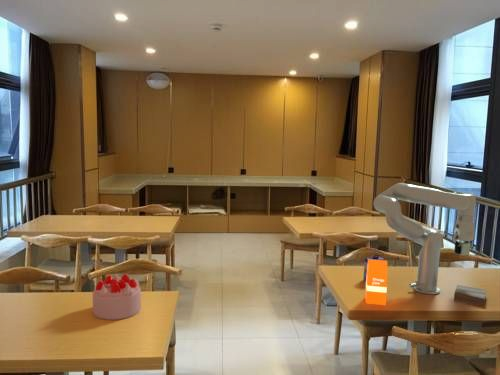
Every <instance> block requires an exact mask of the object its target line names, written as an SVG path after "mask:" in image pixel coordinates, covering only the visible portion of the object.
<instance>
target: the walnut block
mask: <svg viewBox="0 0 500 375" xmlns="http://www.w3.org/2000/svg"><path fill="white" fill-rule="evenodd" d="M486 297H487V289H482V288H478V287H471V286H465V285H458V284H457V285H456V288H455V291H454V296H453V301H455V302H461V303H467V304H472V305H477V306H482V307H485V305H486Z"/></svg>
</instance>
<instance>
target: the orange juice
mask: <svg viewBox="0 0 500 375" xmlns="http://www.w3.org/2000/svg"><path fill="white" fill-rule="evenodd" d="M387 288H388V260H385V261H383V260H370V259H368V265H367V276H366V280H365V304H370V305H379V306H380V305H381V306H386V303H387V293H388V292H387V291H388V289H387Z"/></svg>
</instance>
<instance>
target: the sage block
mask: <svg viewBox="0 0 500 375" xmlns="http://www.w3.org/2000/svg"><path fill="white" fill-rule="evenodd" d="M458 243H459V241H458ZM453 248H454V249H453V254H455V255H459V256H462V257H463V256H464V257H465V256H470V252H471V251H470V250H471V249H470V248H471V245H470V243H467V242H464V241H462V243H461V254H457V253H455V247H453Z"/></svg>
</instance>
